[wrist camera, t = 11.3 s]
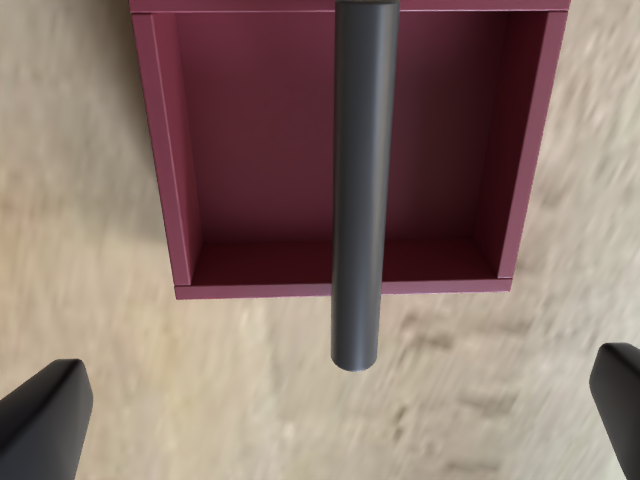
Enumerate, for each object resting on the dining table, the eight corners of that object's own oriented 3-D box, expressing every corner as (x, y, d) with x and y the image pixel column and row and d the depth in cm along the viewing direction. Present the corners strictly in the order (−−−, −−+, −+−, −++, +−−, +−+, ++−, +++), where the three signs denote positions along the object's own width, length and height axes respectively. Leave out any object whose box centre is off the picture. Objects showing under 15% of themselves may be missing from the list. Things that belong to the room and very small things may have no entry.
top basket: (192, 250, 22) (149, 378, 15) (156, -20, 17) (71, 2, 11) (480, 244, 22) (556, 367, 16) (525, -21, 17) (661, -1, 11)
